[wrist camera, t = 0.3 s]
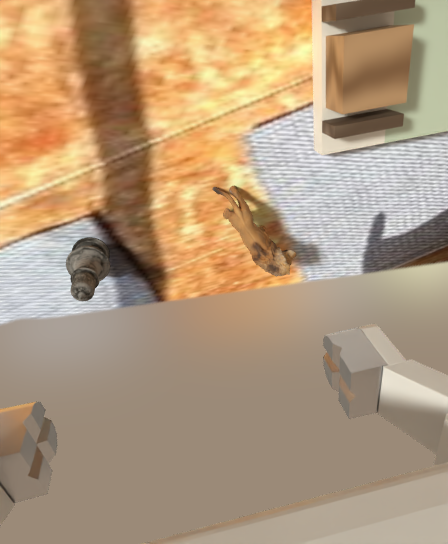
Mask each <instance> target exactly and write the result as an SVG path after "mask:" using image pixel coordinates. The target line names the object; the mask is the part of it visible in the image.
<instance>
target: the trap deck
mask: <svg viewBox="0 0 448 544" xmlns="http://www.w3.org/2000/svg"><path fill="white" fill-rule="evenodd" d="M351 1H357V0H312V51H313V116H314V150H315V151H317V152H318V153H320V154H321V155H326V154H331V153H336V152H341V151H346V150H352V149H357V148H362V147H367V146H372V145H378V144H383V143H388V142H393V141H398V140H404V139H409V138H414V137H419V136H424V135H430V134H435V133H440V132H445V131H448V0H415V8H410V9H404V10H398V11H392V12H386V13H379V14H373V15H367V16H361V17H355V18H349V19H343V20H337V21H325V22H322V6H326V5H332V4H338V3H345V2H351ZM410 24H414V30H413V40H412V50H411V60H410V70H409V80H408V90H407V100H406V103H401V104H396V105H391V106H385V107H380V108H374V109H369V110H363V111H358V112H353V113H347V114H340V113H338V112H335V111H332V110H330V109H327V108H326V36H329V35H335V34H341V33H347V32H353V31H359V30H365V29H371V28H377V27H383V26H389V25H410ZM383 109H390V110H393V111H397V112H400V113H403V114H404V120H403V126H402V127H396V128H391V129H386V130H380V131H375V132H370V133H365V134H359V135H354V136H349V137H344V138H338V139H333V138H331V137H330V136H328V135H326V134H324V133H322V121H323V120H329V119H334V118H340V117H345V116H351V115H356V114H361V113H367V112H372V111H378V110H383Z"/></svg>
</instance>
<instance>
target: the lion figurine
mask: <svg viewBox="0 0 448 544" xmlns="http://www.w3.org/2000/svg"><path fill="white" fill-rule="evenodd" d="M213 190H214V191H215V192H216V193H217V194H221V195H223V196H225V197H226V198H227V199H228V200H229V201H230V203H231V204H232V206H233V208H234V211H233V212H231V211H230V210H229V209H228V208H227V209H225V211H224V213H223V216H224V218H226V219H229V221H230V222H231V224H232V226H233V227H234V228H235V229H236V230H237V231H238V232H239V233H240V235H241V238H242V240H243V242H244V244H245V245H246V247H247V248H248V249H249V251H250V253H251V255H252V258H253V261H254V262H255V263H256V265H259V266H260V267H261V268H262V269H264V270H265V271H266V272H269V273H271V274H272V275H275V276H283V275H286V274H290V273H289V272H290V270H289V269H290V265H291V260H292V259H293V258H295V257H296V252H294V251H292V250H285V251H281V249H280V248H279V247H277V246H276V244H275V243H274V242H273V241H271V240H270V238H269V236H268V235H267V233H266V232H265V227H264V226H259V227H257V225H256V224H255V223H253V218H252V214H251V211H250V209H249V206H248V205H247V203H246V202H245V201H244V199H243V198H242V197H241V196H240V194H239V193H238V191H237V188H236V187H235V186H232V187H230V189H229V190H230V193H231V194H233V196H234V197H235V198H236V199H237V200H238V203H239V207H238V205H237V204H236V202H235V201H234V200H233V198H232V197H231V196H230V195H229V194H227V193H225V192H223V191H221V190H220V189H219V188H216V187H213Z"/></svg>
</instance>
